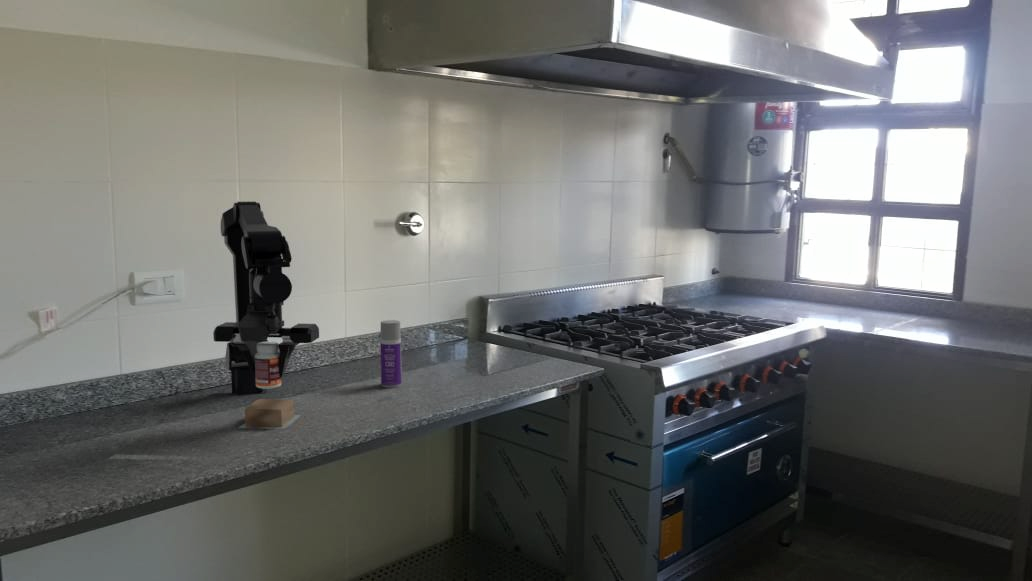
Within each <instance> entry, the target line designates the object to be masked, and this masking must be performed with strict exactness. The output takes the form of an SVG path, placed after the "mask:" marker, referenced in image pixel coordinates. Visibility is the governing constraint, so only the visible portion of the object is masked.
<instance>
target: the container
mask: <svg viewBox="0 0 1032 581" xmlns="http://www.w3.org/2000/svg"><path fill="white" fill-rule="evenodd" d="M401 334H402V333H401V320H395V319H387V320H381V321H380V380H381V381H380V384H381V387H383V388H387V389H389V388H390V389H391V388H393V387H394V388H400V387H401V386H402V337H401V336H402V335H401Z"/></svg>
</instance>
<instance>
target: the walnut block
mask: <svg viewBox="0 0 1032 581" xmlns="http://www.w3.org/2000/svg"><path fill="white" fill-rule="evenodd" d="M294 408H295V406H294V399H276V398H274V399H271V398H270V399H269V398H267V399H266V398H259V399H256V400H255V401H254V402H252V403H251V404H250V405H249V406H247V407H245V408H244V415H245V416H244V417H245V418H244V421H245V422H244V423H245V424H246V426H251V427H283V426H284V425H285V424H286V423H287V422H288V421H289V420H291V419H292V418H293V417H294V415H295V409H294Z"/></svg>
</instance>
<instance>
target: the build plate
mask: <svg viewBox="0 0 1032 581" xmlns="http://www.w3.org/2000/svg"><path fill="white" fill-rule="evenodd" d="M300 417H301V414H294V417H293V418H292V419H291V420H289V421H288V422H287V423H286V424H285V425H284V426H283V427H251V426H246V424H245V422H244V423H243V424H242V425H240V426H239V427H238V429H259V430H260V429H261V430H266V429H267V430H270V429H271V430H286V429H288V427H290V425H292V424H293V423H294V422H295V421H296V420H297V419H299V418H300Z"/></svg>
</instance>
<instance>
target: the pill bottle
mask: <svg viewBox="0 0 1032 581" xmlns="http://www.w3.org/2000/svg"><path fill="white" fill-rule="evenodd" d="M278 344H279V342H278V341H268V342H260V343H257V352H258V353H256V355H255V375H256V387H258V388H262V389H267V390H268V389H270V390H271V389H275V388H279V387H281V386H282V377H280V374H279V359H280V350H279V347H278Z"/></svg>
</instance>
